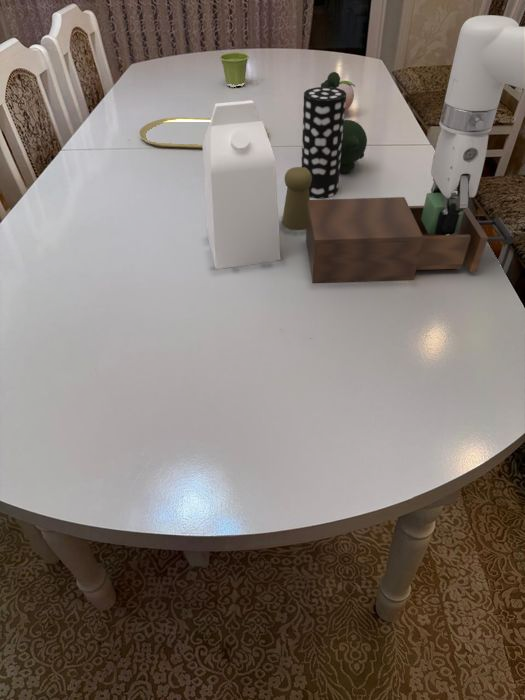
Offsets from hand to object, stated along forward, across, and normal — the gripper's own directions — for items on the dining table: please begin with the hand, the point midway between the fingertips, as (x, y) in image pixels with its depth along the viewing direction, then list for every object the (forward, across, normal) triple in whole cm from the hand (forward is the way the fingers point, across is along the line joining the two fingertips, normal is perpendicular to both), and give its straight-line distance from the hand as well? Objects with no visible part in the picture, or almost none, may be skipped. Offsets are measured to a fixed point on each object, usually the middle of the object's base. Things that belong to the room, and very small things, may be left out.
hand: (439, 224), depth 86 cm
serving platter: (+7, +61, +46) cm, 77 cm away
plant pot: (+7, +105, +38) cm, 112 cm away
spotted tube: (+7, +28, +18) cm, 34 cm away
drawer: (+6, 0, -1) cm, 6 cm away
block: (0, 0, 0) cm, 0 cm away
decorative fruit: (+7, +74, +8) cm, 75 cm away
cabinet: (+7, 0, +14) cm, 15 cm away
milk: (+7, +5, +35) cm, 36 cm away
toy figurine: (+7, +43, +12) cm, 45 cm away
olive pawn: (+7, +14, +24) cm, 28 cm away
